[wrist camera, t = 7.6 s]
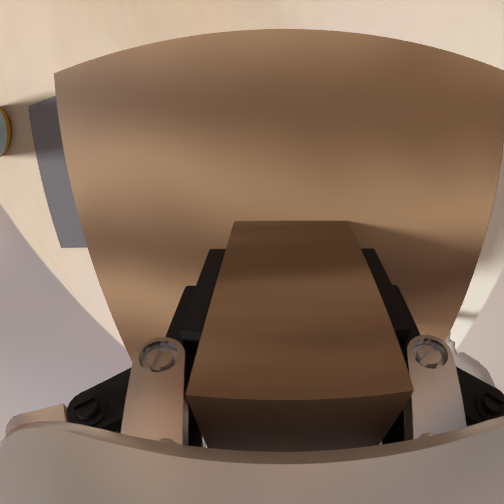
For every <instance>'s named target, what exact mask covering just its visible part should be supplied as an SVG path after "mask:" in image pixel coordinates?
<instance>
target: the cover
mask: <svg viewBox="0 0 504 504" xmlns="http://www.w3.org/2000/svg"><path fill="white" fill-rule="evenodd" d="M54 79H55V91H56V100H57V109H58V117H59V124H60V131H61V137H62V143H63V149H64V154H65V160H66V165H67V170H68V174H69V179H70V183H71V188H72V192H73V196H74V200H75V204H76V208H77V212H78V216H79V220H80V223H81V227H82V230H83V234H84V237H85V240H86V244H87V247H88V250H89V253H90V256H91V260H92V263H93V266H94V269H95V271H96V274H97V277H98V280H99V283H100V286H101V288H102V291H103V294H104V296H105V299H106V302H107V304H108V307H109V309H110V312H111V314H112V317H113V319H114V322H115V324H116V327H117V329H118V331H119V334H120V336H121V338H122V340H123V343H124V345H125V347H126V349H127V352H128V354H129V356H130V358H131V360H132V362H133V358H134V355H135V352H136V350H137V349H138V348H139V347H140V345H142V344H143V343H145V342H146V341H148V340H151V339H153V338H159V337H165V336H166V334H167V331H168V329H169V326H170V324H171V321H172V319H173V316H174V314H175V311H176V308H177V306H178V304H179V301H180V299H181V296H182V294H183V291H184V289H185V287H186V286H196V284H197V281H198V279H199V276H200V273H201V271H202V268H203V265H204V263H205V260H206V257H207V255H208V252H209V250H210V249H226V250H225V254H224V257H223V261H222V264H221V267H220V271H219V274H218V278H217V281H216V285H215V288H214V292H213V295H212V299H211V302H210V306H209V310H208V313H207V317H206V320H205V324H204V328H203V331H202V335H201V338H200V342H199V346H198V349H197V353H196V357H195V361H194V364H193V368H192V372H191V376H190V379H189V383H188V387H187V391H186V397H187V400H188V402H189V405H190V407H191V410H192V412H193V415H194V417H195V420H196V422H197V425H198V427H199V429H200V432H201V434H202V436H203V439H204V441H205V443H206V445H207V448H213V449H225V450H239V451H260V452H306V451H327V450H340V449H351V448H360V447H369V446H376V445H379V444H380V443H381V442H382V440H383V439H384V437H385V436H386V434H387V433H388V431H389V430H390V428H391V427H392V425H393V424H394V422H395V421H396V419H397V418H398V416H399V415H400V413H401V411H402V410H403V408H404V407H405V405H406V403H407V402H408V400H409V398H410V397H411V395H412V393H413V392H414V388H413V384H412V381H411V378H410V375H409V372H408V369H407V366H406V363H405V360H404V357H403V354H402V351H401V348H400V345H399V342H398V340H397V337H396V334H395V331H394V329H393V326H392V323H391V321H390V318H389V315H388V313H387V310H386V308H385V305H384V303H383V300H382V297H381V295H380V293H379V290H378V288H377V285H376V283H375V280H374V278H373V276H372V273H371V271H370V269H369V266H368V264H367V262H366V259H365V257H364V255H363V253H362V250H361V248H373V249H375V251H376V253H377V255H378V257H379V259H380V261H381V263H382V265H383V267H384V269H385V271H386V273H387V275H388V277H389V279H390V282H391V284H392V285H397V286H398V288H399V289H400V291H401V293H402V295H403V298H404V300H405V302H406V304H407V306H408V308H409V310H410V313H411V315H412V317H413V319H414V321H415V324H416V326H417V328H418V330H419V333H420V335H432V336H435V337H438V338H440V339H442V340H443V341H444V342H445V341H446V339H447V337H448V335H449V333H450V330H451V328H452V326H453V324H454V322H455V319H456V317H457V315H458V312H459V310H460V307H461V305H462V303H463V300H464V298H465V295H466V292H467V290H468V287H469V284H470V282H471V279H472V276H473V273H474V270H475V267H476V264H477V261H478V258H479V255H480V252H481V249H482V245H483V242H484V238H485V235H486V231H487V228H488V224H489V220H490V216H491V212H492V207H493V203H494V198H495V193H496V188H497V183H498V178H499V172H500V165H501V159H502V151H503V143H504V70H501V69H499V68H496V67H494V66H491V65H488V64H486V63H483V62H480V61H477V60H474V59H471V58H468V57H465V56H462V55H459V54H456V53H452V52H449V51H445V50H442V49H438V48H434V47H430V46H426V45H422V44H417V43H413V42H408V41H403V40H398V39H392V38H387V37H380V36H374V35H367V34H359V33H350V32H339V31H326V30H306V29H265V30H245V31H231V32H221V33H212V34H204V35H196V36H190V37H183V38H177V39H172V40H166V41H161V42H156V43H152V44H147V45H143V46H139V47H134V48H130V49H127V50H123V51H119V52H116V53H112V54H109V55H105V56H102V57H99V58H96V59H93V60H89V61H86V62H84V63H81V64H78V65H75V66H72V67H70V68H67V69H64V70H62V71H59V72H57V73H54Z"/></svg>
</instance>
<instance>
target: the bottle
mask: <svg viewBox="0 0 504 504" xmlns="http://www.w3.org/2000/svg"><path fill="white" fill-rule="evenodd" d="M10 139H11V125H10V121H9V118H8V117H7V115H6V113H5V112H4V111H3V110H1V109H0V157H1V156H2V155H4V153H5V152H6V150H7V148H8V146H9V143H10Z"/></svg>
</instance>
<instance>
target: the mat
mask: <svg viewBox="0 0 504 504" xmlns="http://www.w3.org/2000/svg"><path fill="white" fill-rule="evenodd" d="M29 112H30V120H31V127H32V133H33V139H34V145H35V150H36V155H37V160H38V165H39V170H40V174H41V179H42V183H43V187H44V191H45V195H46V199H47V203H48V206H49V210H50V213H51V217H52V220H53V224H54V227H55V230H56V233H57V236H58V240H59V243H60V246H61V248H78V247H87V244H86V240H85V237H84V234H83V230H82V227H81V223H80V220H79V216H78V212H77V208H76V204H75V200H74V196H73V192H72V188H71V183H70V179H69V174H68V170H67V165H66V160H65V154H64V149H63V143H62V137H61V131H60V124H59V117H58V109H57V100H56V96H55V97H52V98H50V99H47V100H44V101H42V102H39V103H37V104H34V105H32V106H29Z"/></svg>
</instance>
